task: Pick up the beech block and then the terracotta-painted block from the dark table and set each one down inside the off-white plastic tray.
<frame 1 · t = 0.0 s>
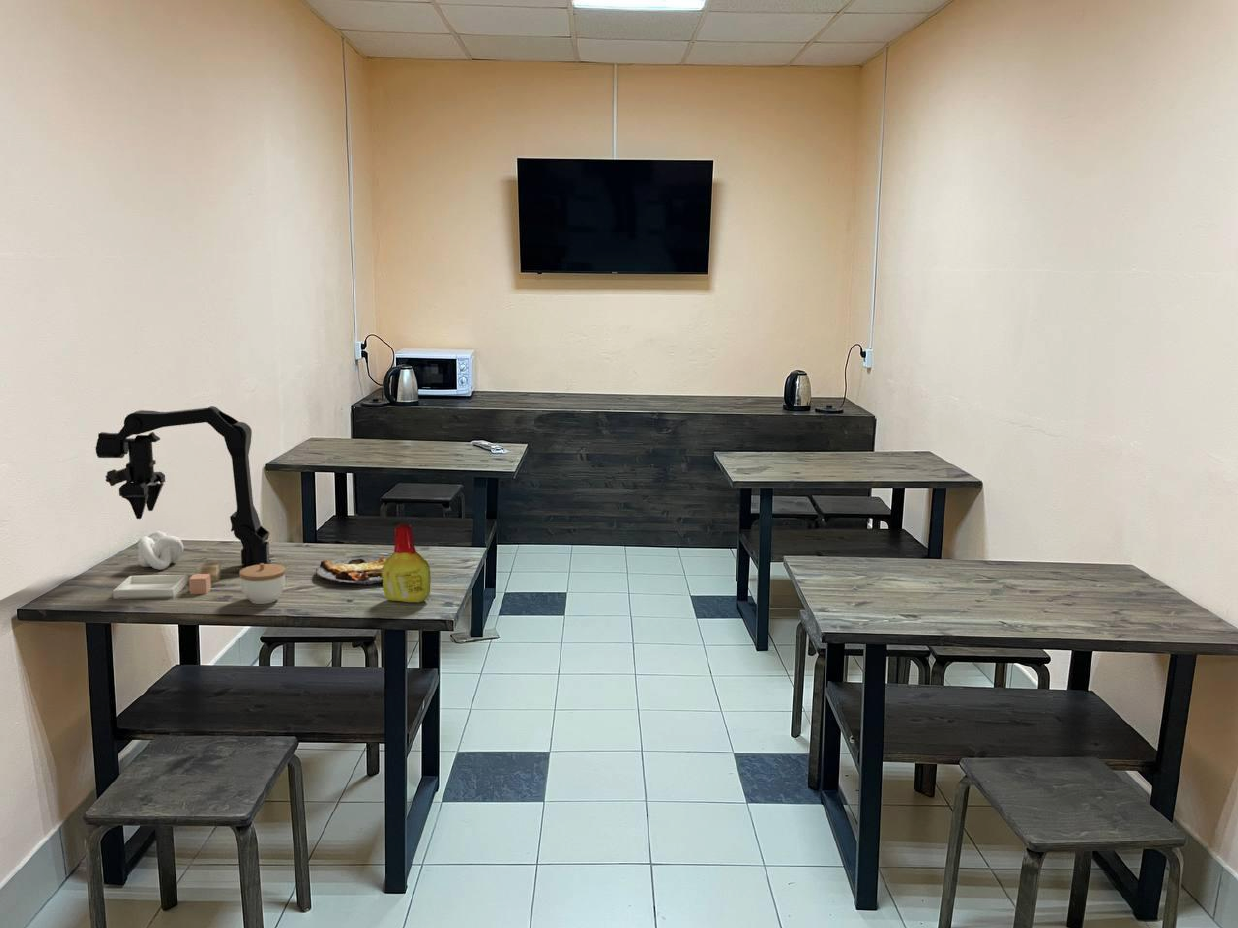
hand: (144, 514, 260), 15 cm above the table, fingers open, 9 cm apart
lidded jar: (263, 600, 239), on the table
beech block: (211, 579, 254), on the table
tray: (151, 590, 244), on the table
terracotta block: (200, 591, 245), on the table
food plate: (363, 575, 262), on the table
bottle: (406, 601, 242), on the table
white knot sculpture: (157, 567, 264), on the table
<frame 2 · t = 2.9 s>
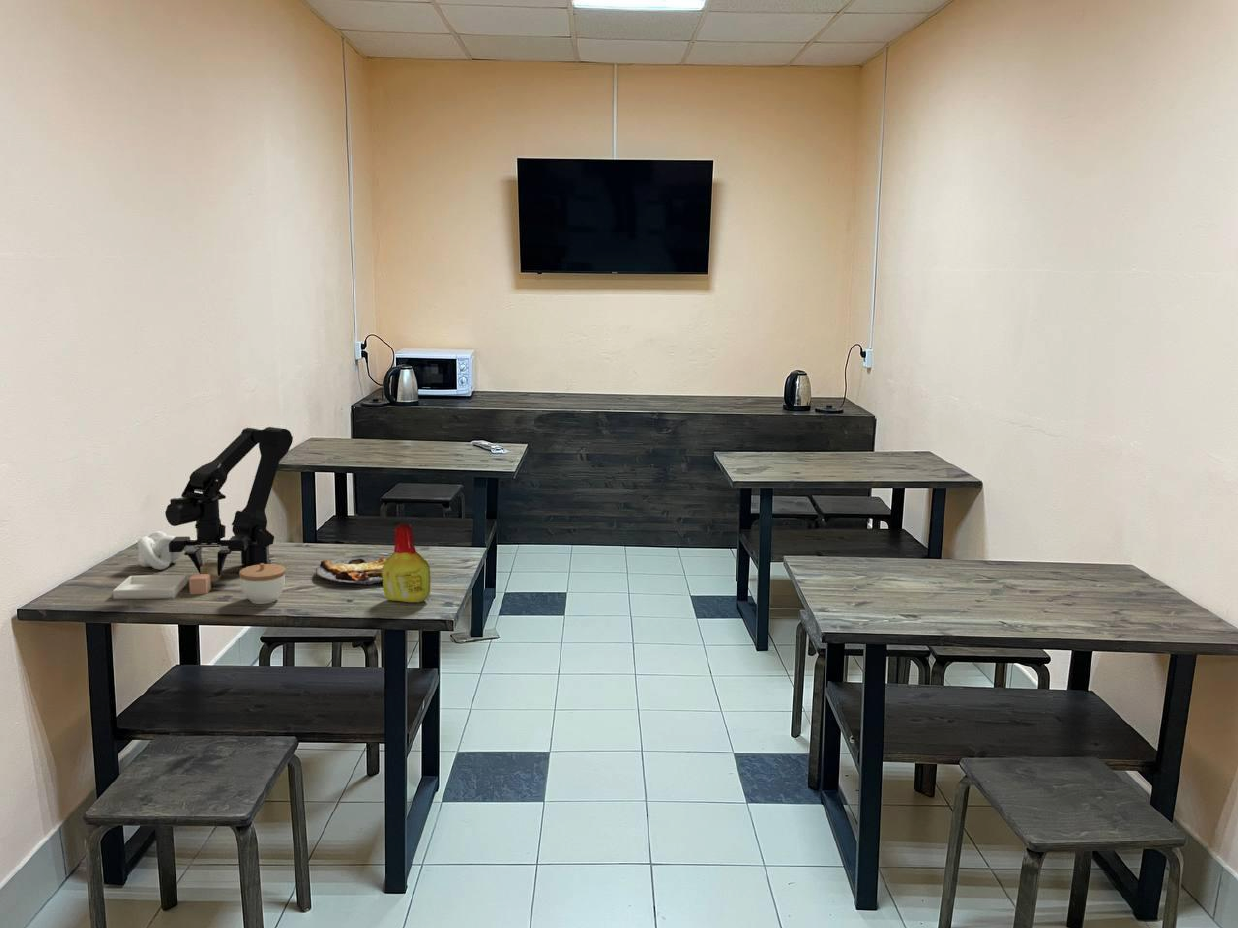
hand: (210, 575, 254), 1 cm above the table, fingers closed on beech block, 4 cm apart
beech block: (211, 579, 254), on the table, touching gripper
everything else where it was.
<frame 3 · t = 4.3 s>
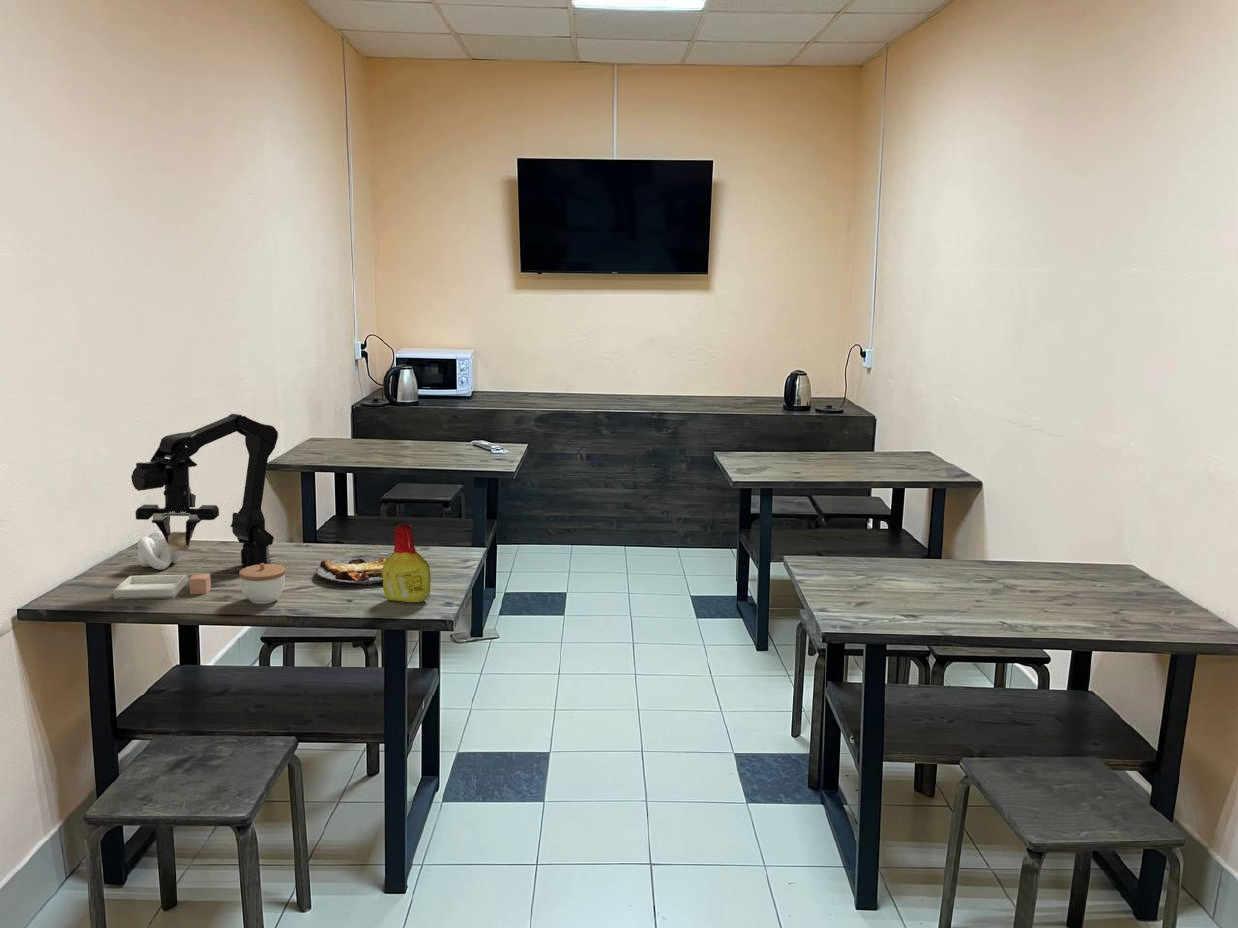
hand: (178, 545, 247), 11 cm above the table, fingers closed on beech block, 4 cm apart
beech block: (179, 549, 247), point 10 cm above the table, touching gripper
everything else where it was.
when the fingers open (4 cm above the table, at t = 5.8 s): beech block drops 2 cm, resting on tray.
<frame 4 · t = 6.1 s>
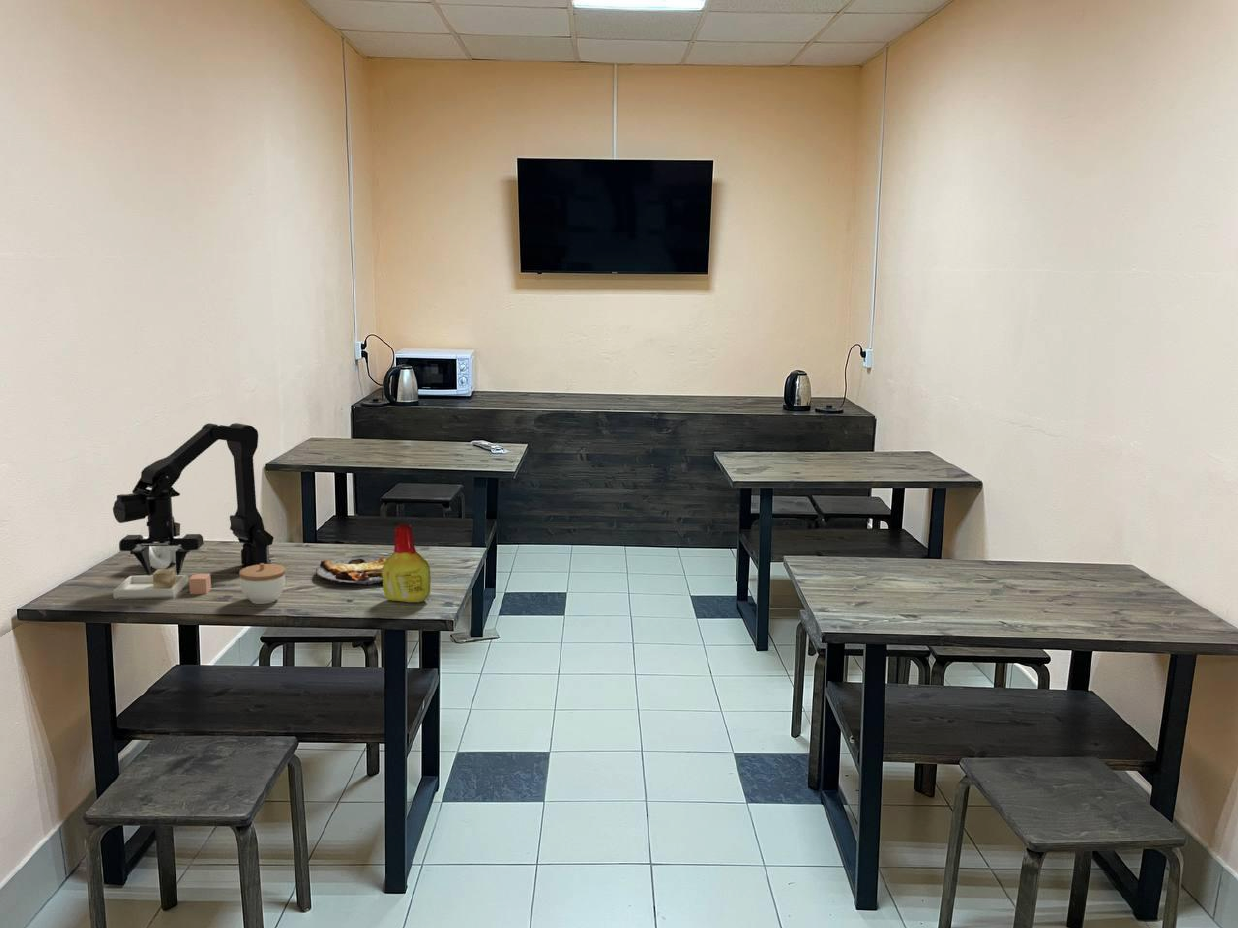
hand: (164, 574, 246), 3 cm above the table, fingers open, 7 cm apart
beech block: (164, 586, 246), resting on tray
everything else where it was.
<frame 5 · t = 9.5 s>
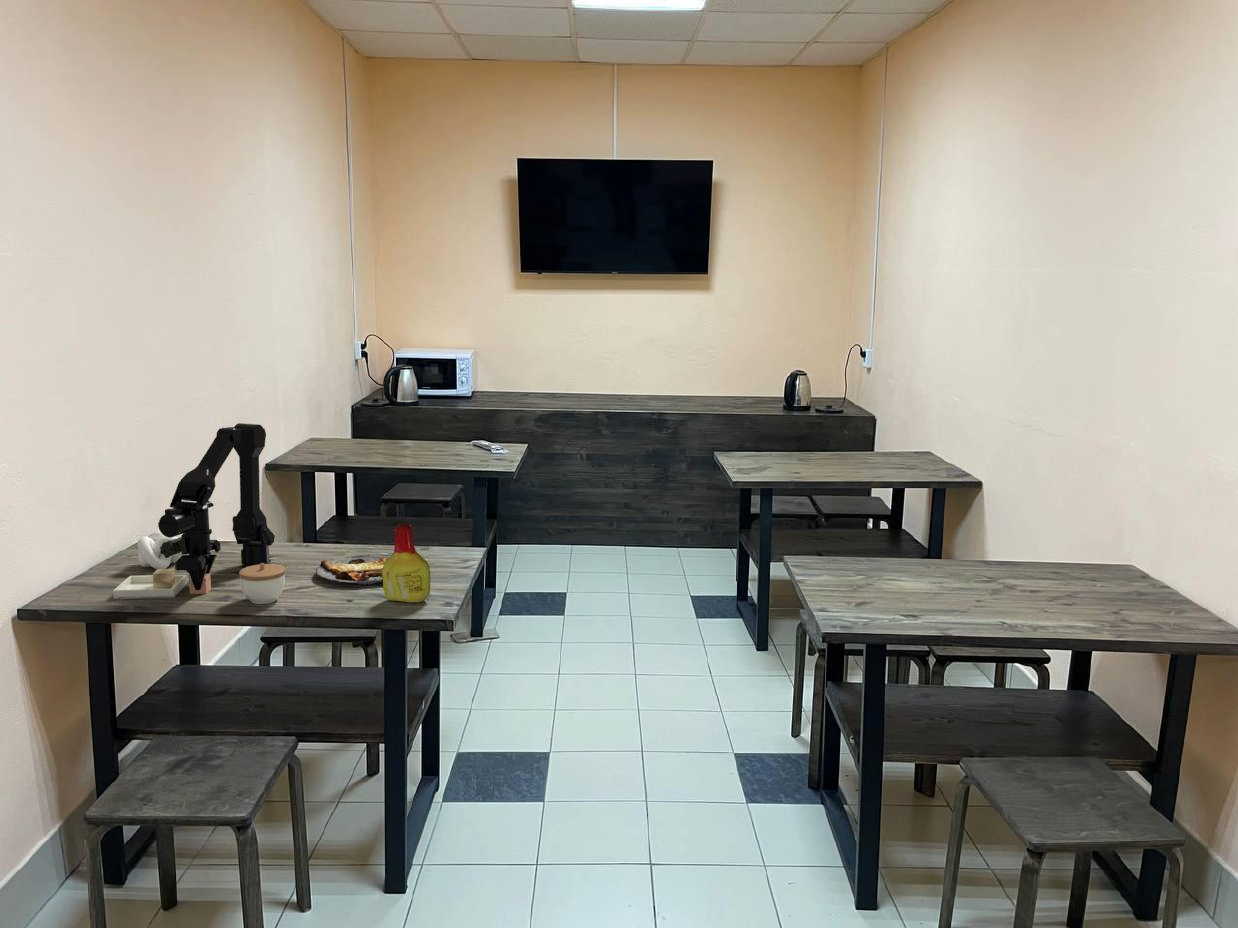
hand: (200, 587, 244), 1 cm above the table, fingers closed on terracotta block, 4 cm apart
terracotta block: (200, 591, 245), on the table, touching gripper
everything else where it was.
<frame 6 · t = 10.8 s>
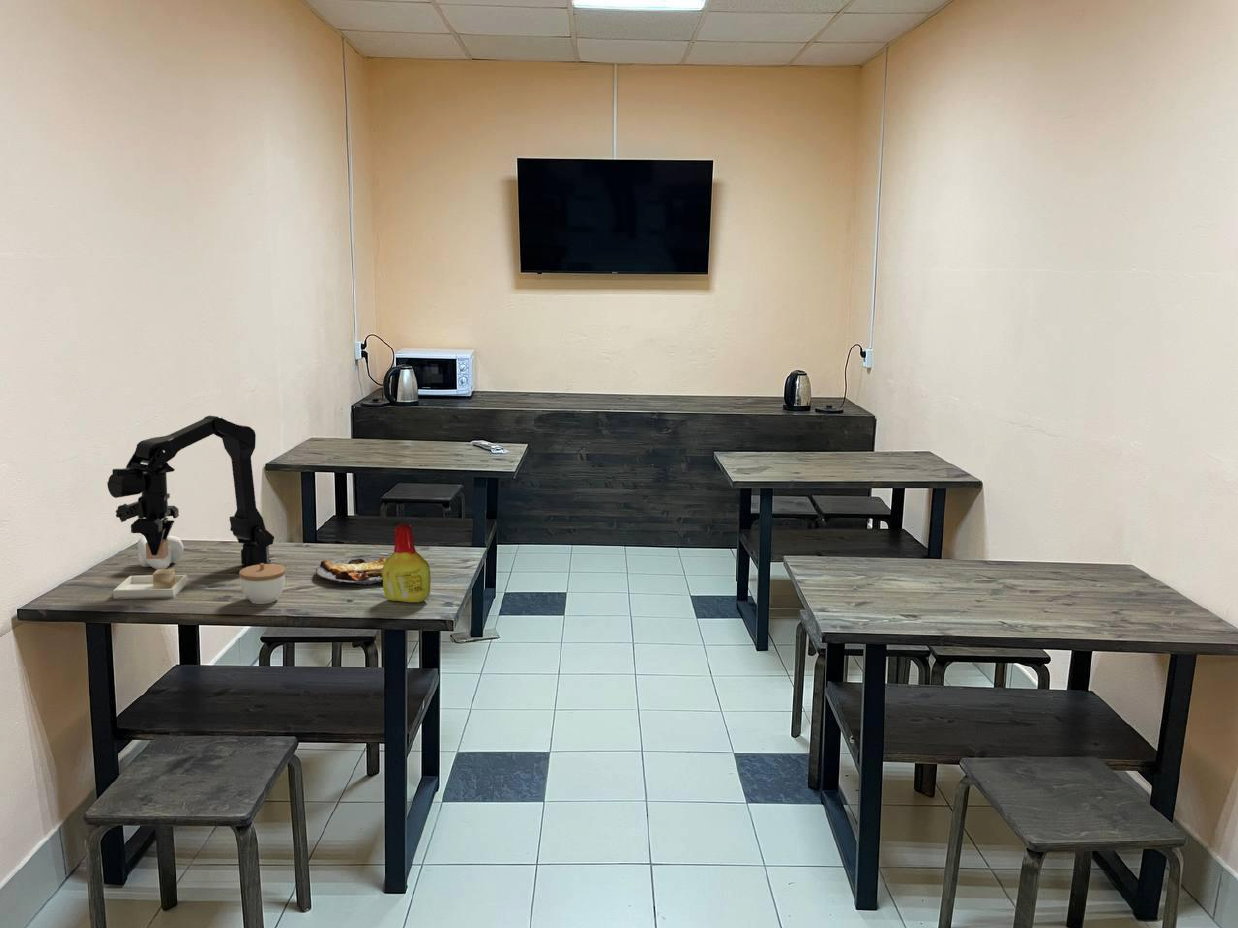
hand: (157, 552, 240), 11 cm above the table, fingers closed on terracotta block, 4 cm apart
terracotta block: (157, 556, 240), point 10 cm above the table, touching gripper
everything else where it was.
when the fingers open (3 cm above the table, at t = 12.4 s): terracotta block drops 2 cm, resting on tray.
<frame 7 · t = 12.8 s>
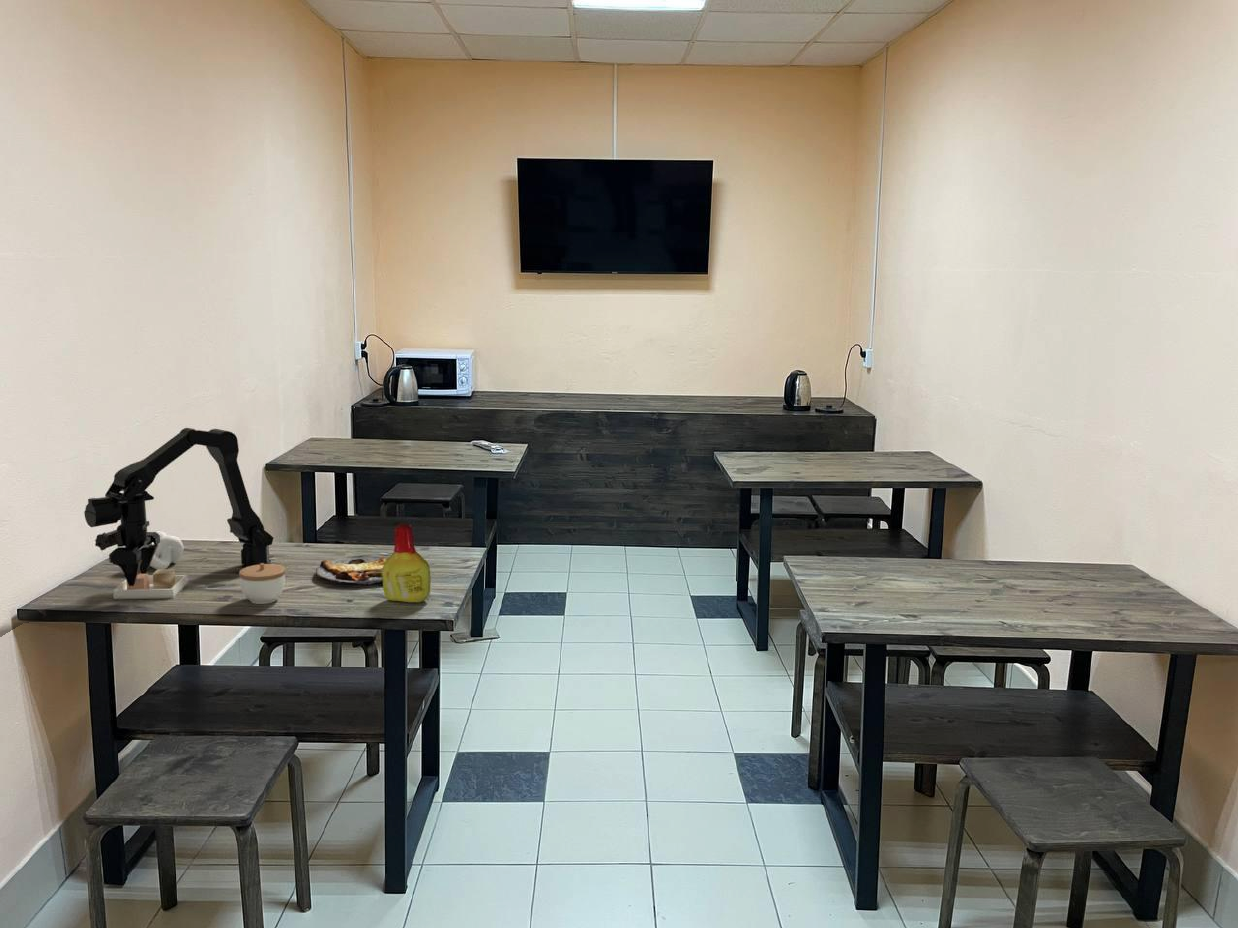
hand: (137, 580, 241), 3 cm above the table, fingers open, 9 cm apart
terracotta block: (138, 591, 241), resting on tray
everything else where it was.
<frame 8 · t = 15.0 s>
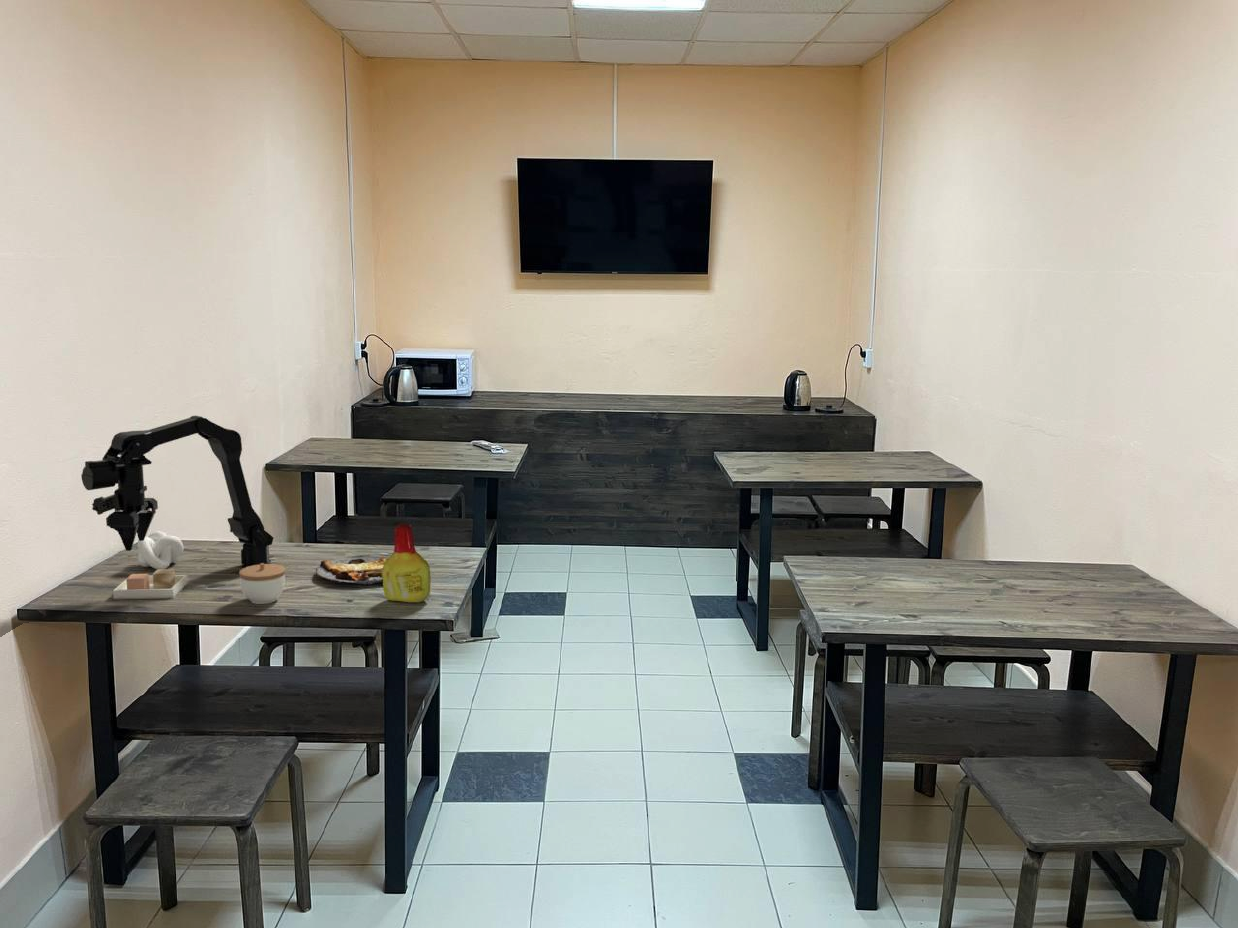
hand: (135, 545, 239), 12 cm above the table, fingers open, 9 cm apart
nothing on the table moved.
at the end: beech block inside the target area on the tray (3.2 cm from its centre), point 0.5 cm above the tray's base; terracotta block inside the target area on the tray (3.2 cm from its centre), point 0.5 cm above the tray's base; the gripper is holding nothing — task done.
